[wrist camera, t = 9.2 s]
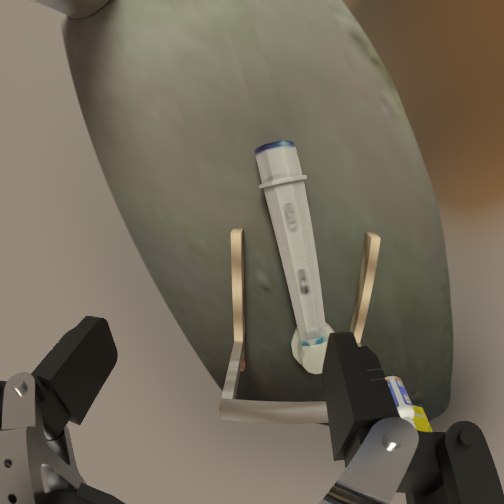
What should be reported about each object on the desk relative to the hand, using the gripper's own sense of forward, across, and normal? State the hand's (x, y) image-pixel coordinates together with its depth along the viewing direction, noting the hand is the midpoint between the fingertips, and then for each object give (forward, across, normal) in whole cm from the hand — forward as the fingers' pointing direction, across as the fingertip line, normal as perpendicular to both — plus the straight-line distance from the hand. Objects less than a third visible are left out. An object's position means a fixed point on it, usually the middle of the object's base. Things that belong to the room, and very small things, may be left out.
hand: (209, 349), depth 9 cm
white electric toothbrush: (+21, -5, +6) cm, 22 cm away
